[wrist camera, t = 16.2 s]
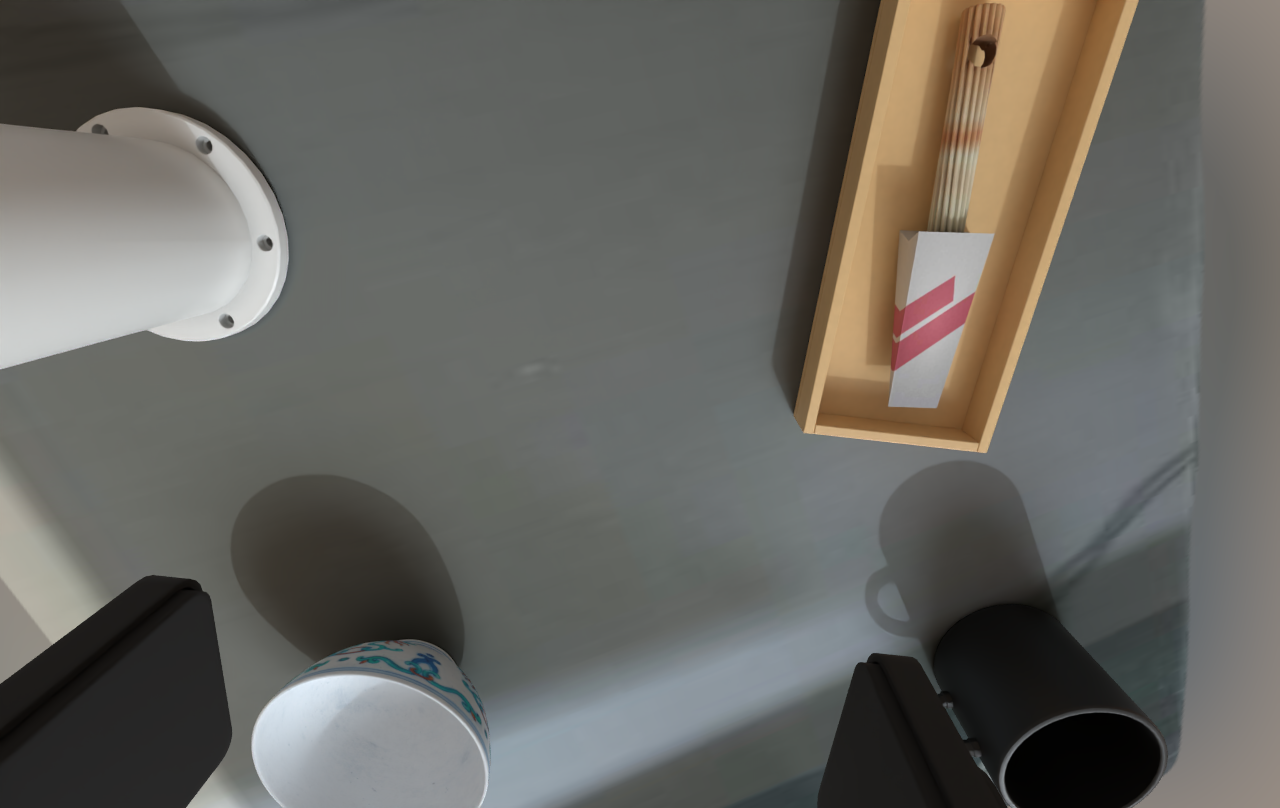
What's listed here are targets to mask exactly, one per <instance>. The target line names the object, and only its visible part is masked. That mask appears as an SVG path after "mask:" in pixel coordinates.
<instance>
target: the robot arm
mask: <svg viewBox="0 0 1280 808" xmlns="http://www.w3.org/2000/svg"><path fill="white" fill-rule="evenodd" d="M271 240H272V243H273V244H272V243H271ZM288 261H289V251H288V236H287V231H286V227H285V222H284V218H283V215H282V212H281V210H280V207H279V205H278V202H277V200H276V197H275V195H274V193H273V191H272V190H271V188H270V186H269V185H268V183H267V181H266V180H265V178H264V176H263V175H262V173H261V172H260V171H259V170H258V168H257V167H256V166H255V165H254V164H253V162H252V161H251V160H250V159H249V158H248V156H247V155H246V154H245V153H244V152H243V151H242V150H240V149H239V148H238V147H237V146H236V145H235V144H234V143H232V142H231V141H230V140H229V139H228V138H227V137H225V136H224V135H222V134H221V133H219V132H217V131H216V130H214V129H213V128H211V127H210V126H208V125H206V124H205V123H202V122H200V121H197V120H195V119H193V118H190V117H188V116H186V115H183V114H178V113H174V112H169V111H165V110H160V109H151V108H142V107H131V108H121V109H114V110H112V111H109V112H106V113H103V114H100V115H97V116H95V117H94V118H92V119H91V120H89V121H88V122H86V123H85V124H83V125H82V126H80V127H79V128H78V129H77V131H76V132H75V131H65V130H56V129H46V128H36V127H27V126H17V125H8V124H0V369H4V368H7V367H11V366H15V365H18V364H22V363H26V362H29V361H33V360H37V359H40V358H44V357H48V356H51V355H55V354H58V353H62V352H66V351H69V350H73V349H77V348H80V347H84V346H88V345H91V344H95V343H99V342H102V341H106V340H110V339H114V338H117V337H121V336H125V335H128V334H132V333H136V332H140V331H143V330H148V331H150V332H153V333H156V334H158V335H161V336H164V337H168V338H173V339H178V340H183V341H208V340H214V339H220V338H224V337H227V336H230V335H233V334H236V333H239V332H241V331H243V330H245V329H247V328H248V327H250V326H252V325H254V324H256V323H257V322H258V321H259V320H260V319H261V318H262V317H263V316H264V315H266V314H267V313H268V312H269V311H270V309H271V308H272V306H273V305H274V303H275V302H276V300H277V299H278V297H279V295H280V293H281V290H282V287H283V285H284V282H285V280H286V274H287V268H288ZM231 738H232V727H231V720H230V714H229V708H228V702H227V696H226V690H225V683H224V677H223V671H222V665H221V659H220V653H219V646H218V640H217V634H216V628H215V622H214V616H213V610H212V603H211V599H210V596H209V595H208V594H207V593H206V592H203V591H202V588H201V585H200V584H199V583H198V582H197V581H196V580H192V579H184V578H175V577H166V576H156V575H151V576H146V577H144V578H142V579H141V580H139V581H137V582H136V583H135V584H133V585H132V586H131V587H129V588H128V589H127V590H125V591H124V592H123V593H121V594H120V595H119V596H117V597H116V598H115V599H113V600H112V601H111V602H109V603H108V604H107V605H105V606H104V607H103V608H101V609H100V610H99V611H97V612H96V613H95V614H93V615H92V616H91V617H89V618H88V619H87V620H85V621H84V622H83V623H81V624H80V625H79V626H77V627H76V628H75V629H73V630H72V631H71V632H69V633H68V634H67V635H65V636H64V637H63V638H61V639H60V640H59V641H57V642H56V643H54V644H53V645H52V646H50V647H49V648H48V649H46V650H45V651H44V652H43V653H41V654H40V655H39V656H37V657H36V658H34V659H33V660H32V661H30V662H29V663H28V664H26V665H25V666H24V667H23V668H21V669H20V670H19V671H17V672H16V673H14V674H13V675H12V676H11V677H9V678H8V679H6V680H5V681H4V682H3V683H1V684H0V808H186V807H187V806H188V804H189V803H190V802H191V800H192V799H193V798H194V796H195V795H196V794H197V792H198V791H199V790H200V789H201V787H202V786H203V785H204V783H205V782H206V781H207V779H208V778H209V777H210V775H211V774H212V773H213V772H214V770H215V769H216V768H217V766H218V765H219V764H220V762H221V761H222V759H223V758H224V756H225V755H226V752H227V750H228V748H229V745H230V742H231ZM817 805H818V808H1007V806H1006V804H1005V802H1004V801H1003V799H1002V797H1001V795H1000V794H999V792H998V790H997V788H996V786H995V785H994V784H993V782H992V781H991V779H990V778H989V777H988V775H987V774H986V773H985V772H984V771H983V770H981V769H980V768H979V767H977V765H976V763H975V761H974V760H973V758H972V756H971V754H970V752H969V751H968V749H967V747H966V745H965V743H964V742H963V740H962V738H961V736H960V735H959V733H958V731H957V729H956V727H955V726H954V724H953V722H952V720H951V718H950V717H949V715H948V713H947V711H946V709H945V708H944V706H943V704H942V702H941V700H940V699H939V697H938V695H937V693H936V691H935V690H934V688H933V686H932V684H931V683H930V681H929V679H928V677H927V675H926V674H925V672H924V670H923V668H922V666H921V665H920V663H919V662H918V661H917V660H916V659H915V658H913V657H907V656H898V655H888V654H879V653H873V654H871V655H870V656H869V658H868V660H867V662H866V663H863V662H860V663H858V664H857V665H856V667H855V670H854V673H853V677H852V680H851V683H850V687H849V690H848V694H847V697H846V700H845V704H844V707H843V711H842V714H841V718H840V721H839V724H838V728H837V731H836V735H835V738H834V741H833V745H832V748H831V752H830V755H829V758H828V762H827V765H826V769H825V772H824V776H823V779H822V782H821V786H820V789H819V793H818V802H817Z"/></svg>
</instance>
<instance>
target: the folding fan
mask: <svg viewBox="0 0 1280 808" xmlns="http://www.w3.org/2000/svg"><path fill="white" fill-rule="evenodd" d="M1005 12H1006V8H1005V6H1004V5H1002V4H1001V3H999V4H997V3H985V4H977V5H973V6H970V7H969V8H966V9H965V10H963V12H962V15H961V21H960V28H959V34H958V41H957V48H956V54H955V61H954V67H953V74H952V80H951V86H950V92H949V98H948V104H947V110H946V116H945V122H944V128H943V134H942V140H941V146H940V152H939V158H938V165H937V171H936V177H935V184H934V190H933V196H932V202H931V209H930V215H929V221H928V227H927V231H908V230H900V232H899V247H898V263H897V278H896V294H895V309H894V324H893V340H892V355H891V371H890V386H889V402H888V407H914V408H937V406H938V403H939V400H940V397H941V394H942V391H943V388H944V385H945V382H946V379H947V376H948V373H949V370H950V367H951V364H952V361H953V358H954V355H955V352H956V349H957V346H958V343H959V340H960V337H961V334H962V331H963V328H964V325H965V322H966V319H967V316H968V313H969V310H970V307H971V304H972V301H973V298H974V295H975V292H976V289H977V286H978V283H979V280H980V277H981V274H982V271H983V268H984V265H985V262H986V259H987V256H988V253H989V250H990V247H991V244H992V241H993V238H994V235H995V234H987V233H970V232H964V229H965V224H966V218H967V213H968V208H969V203H970V197H971V192H972V186H973V181H974V175H975V170H976V165H977V159H978V154H979V148H980V143H981V137H982V132H983V126H984V121H985V116H986V110H987V105H988V99H989V94H990V88H991V83H992V78H993V73H994V68H995V63H996V58H997V52H998V47H999V42H1000V37H1001V32H1002V27H1003V22H1004V17H1005ZM972 44H973V45H978V46H979V47H980V49H981V50H982V51H984V53H985V58H984V62H983V64H982V66H981V67H979V66H974V65H973V63H972V62H971V61H970V60H969V61H968V57H967V54H968V49H969V47H970V45H972Z"/></svg>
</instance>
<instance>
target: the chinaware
mask: <svg viewBox="0 0 1280 808" xmlns="http://www.w3.org/2000/svg"><path fill="white" fill-rule="evenodd" d="M251 749H252V757H253V761H254V765H255V768H256V771H257V773H258V775H259V777H260V779H261V781H262V783H263V785H264V786H265V788H266V789H267V791H268V792H269V793H270V794H271V796H272V797H273V798H274V799H275V800H276V801H277V802H278V804H279V805H280V806H282V807H283V808H480V806H481V804H482V802H483V800H484V798H485V795H486V791H487V787H488V782H489V773H490V736H489V728H488V723H487V718H486V714H485V711H484V708H483V705H482V702H481V700H480V698H479V695H478V693H477V691H476V690H475V688H474V686H473V685H472V683H471V682H470V680H469V679H468V678H467V676H466V675H465V674H464V673H463V672H462V671H461V669H460V668H459V667H458V666H457V665H456V664H455V662H454V661H453V659H452V658H451V657H450V656H449V655H448V654H447V653H446V652H445V651H443V650H442V649H441V648H439V647H437V646H435V645H433V644H431V643H428V642H425V641H421V640H414V639H405V640H398V641H375V642H368V643H363V644H359V645H355V646H352V647H349V648H346V649H343V650H341V651H338V652H336V653H334V654H332V655H330V656H328V657H326V658H324V659H322V660H320V661H318V662H317V663H315V664H314V665H312V666H310V667H309V668H307V669H306V670H305V671H303V672H302V673H300V674H299V675H298V676H296V677H295V678H294V679H293V680H291V681H290V682H289V683H288V684H287V685H285V686H284V687H283V688H282V689H281V690H280V691H279V692H278V693H277V694H276V695H274V696H273V698H272V699H271V700H270V701H269V702H268V703H267V704H266V705H265V707H264V708H263V710H262V711H261V713H260V714H259V716H258V718H257V720H256V723H255V726H254V729H253V733H252V741H251Z"/></svg>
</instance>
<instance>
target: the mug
mask: <svg viewBox="0 0 1280 808" xmlns="http://www.w3.org/2000/svg"><path fill="white" fill-rule="evenodd" d="M934 672H935V677H936V680H937V683H938V685H939V687H940V689H941V690H942V691H941V693H940V694H938V697H939V699H940V700H941V702H942V704H943V706H944V707H946V708H952V710H953V712H954V713H955V715H956V717H957V719H958V720H959V722H960V724H961V726H962V727H963V729H964V731H965V733H966V734H967V736H968V739H967V740H963V742H964V743H965V745H966V747H967V749H968V751H969V752H970V754H971V756H974V757H980V759H981V761H982V763H983V764H984V766H985V768H986V770H987V771H988V773H989V775H990V777H991V778H992V780H993V782H994V784H995V785H996V787H997V789H998V791H999V792H1000V794H1001V796H1002V797H1003V799H1004V800H1005V801H1006V803H1007V804H1008V805H1009V806H1010V807H1011V808H1132V807H1134V806H1135V805H1136V804H1138V803H1139V802H1141V801H1142V800H1143V799H1144V798H1145V797H1146V796H1148V794H1150V793H1151V792H1152V790H1153V789H1154V788H1155V787H1156V785H1157V784H1158V783H1159V781H1160V779H1161V778H1162V776H1163V774H1164V771H1165V769H1166V765H1167V759H1168V751H1167V745H1166V742H1165V739H1164V737H1163V735H1162V733H1161V732H1160V730H1159V729H1158V728H1157V726H1156V725H1155V724H1154V723H1153V722H1152V721H1151V720H1150V719H1149V718H1148V717H1147V715H1146V714H1145V713H1144V712H1143V711H1142V710H1141V709H1140V708H1139V707H1138V706H1137V705H1136V704H1135V703H1134V702H1133V700H1132V699H1131V698H1130V697H1129V696H1128V695H1127V694H1126V693H1125V692H1124V691H1123V690H1122V689H1121V688H1120V687H1119V685H1118V684H1117V683H1116V682H1115V681H1114V680H1113V679H1112V678H1111V677H1110V676H1109V675H1108V674H1107V673H1106V672H1105V670H1104V669H1103V668H1102V667H1101V666H1100V665H1099V664H1098V663H1097V662H1096V661H1095V660H1094V659H1093V658H1092V657H1091V655H1090V654H1089V653H1088V652H1087V651H1086V650H1085V649H1084V648H1083V647H1082V646H1081V645H1080V644H1079V643H1078V642H1077V640H1076V639H1075V638H1074V637H1073V636H1072V635H1071V634H1070V633H1069V632H1068V631H1067V630H1066V629H1065V628H1064V627H1063V625H1062V624H1061V623H1060V622H1059V621H1058V620H1057V619H1055V618H1054V617H1052V616H1051V615H1049V614H1047V613H1045V612H1043V611H1041V610H1039V609H1036V608H1032V607H1029V606H1024V605H999V606H993V607H989V608H985V609H982V610H980V611H977V612H975V613H973V614H971V615H969V616H967V617H965V618H964V619H962V620H961V621H959V622H958V623H957V624H955V625H954V626H953V627H952V628H951V629H950V630H949V631H948V632H947V633H946V635H945V636H944V637H943V639H942V640H941V642H940V644H939V646H938V648H937V651H936V654H935V660H934Z"/></svg>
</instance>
